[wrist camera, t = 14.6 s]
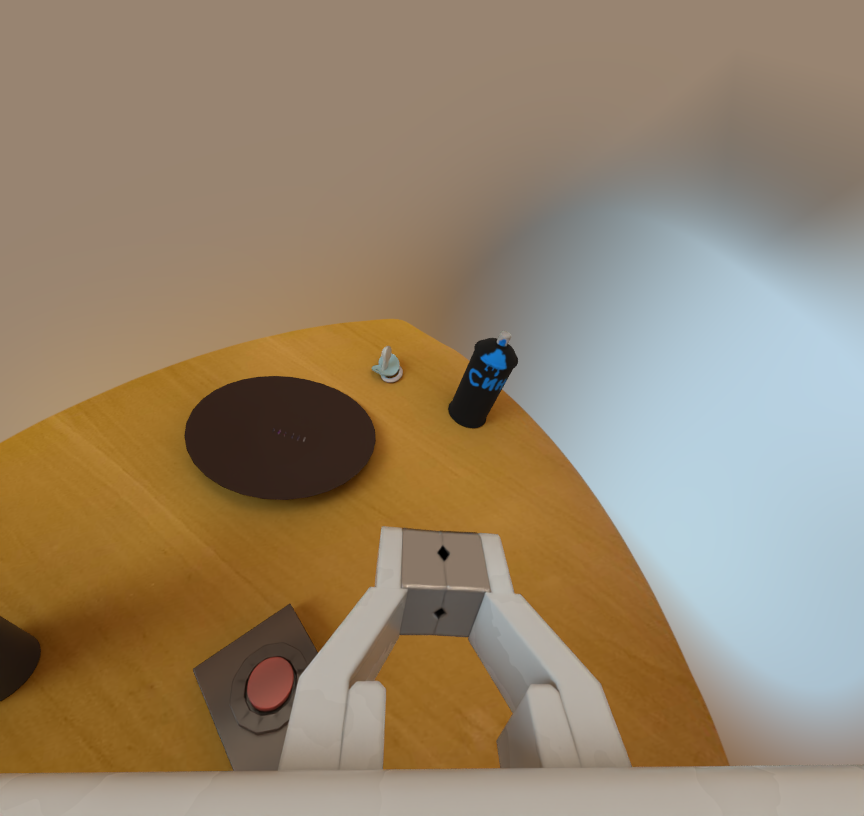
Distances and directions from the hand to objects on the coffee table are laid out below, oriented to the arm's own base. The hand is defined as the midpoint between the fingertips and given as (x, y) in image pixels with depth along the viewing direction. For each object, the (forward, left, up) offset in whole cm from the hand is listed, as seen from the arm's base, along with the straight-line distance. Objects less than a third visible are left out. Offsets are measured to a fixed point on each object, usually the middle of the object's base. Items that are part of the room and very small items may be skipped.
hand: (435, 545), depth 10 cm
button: (+6, +2, -38) cm, 39 cm away
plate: (+36, -15, -42) cm, 57 cm away
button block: (+6, +2, -42) cm, 43 cm away
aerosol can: (+25, -48, -42) cm, 68 cm away
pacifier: (+42, -40, -42) cm, 71 cm away
